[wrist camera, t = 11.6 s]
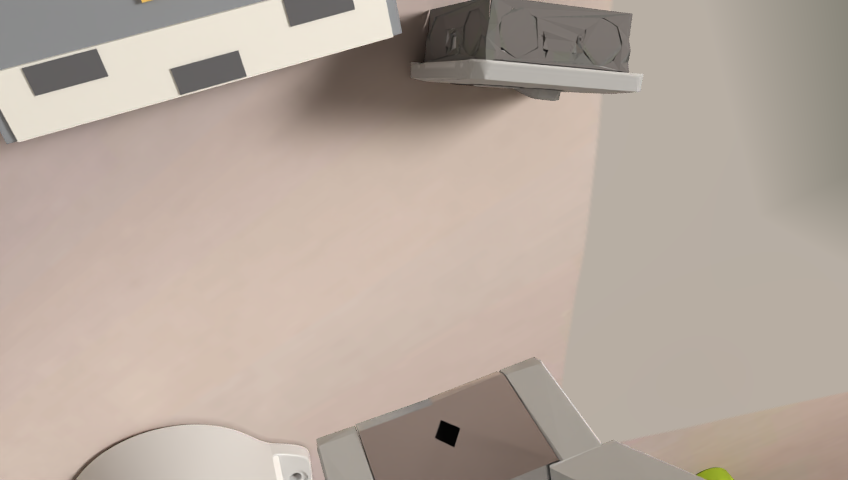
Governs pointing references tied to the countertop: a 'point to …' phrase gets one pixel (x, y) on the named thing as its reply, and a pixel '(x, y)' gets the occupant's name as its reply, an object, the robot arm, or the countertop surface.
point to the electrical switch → (529, 48)
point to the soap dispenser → (715, 474)
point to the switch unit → (159, 51)
